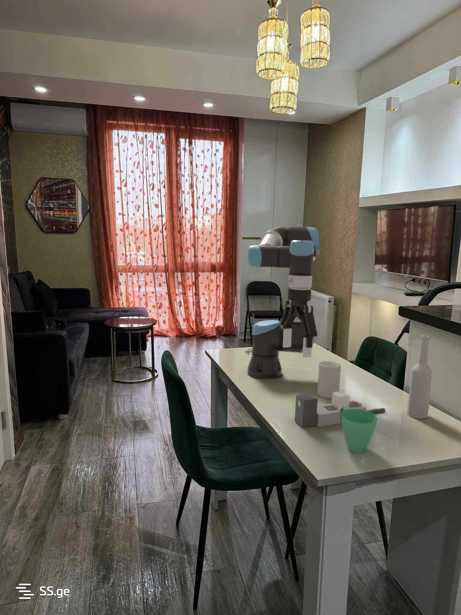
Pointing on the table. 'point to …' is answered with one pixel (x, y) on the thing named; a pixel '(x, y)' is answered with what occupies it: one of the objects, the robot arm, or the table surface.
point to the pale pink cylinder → (328, 378)
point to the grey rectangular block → (306, 410)
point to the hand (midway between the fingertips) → (296, 352)
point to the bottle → (420, 383)
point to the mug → (357, 428)
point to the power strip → (337, 413)
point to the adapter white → (340, 399)
